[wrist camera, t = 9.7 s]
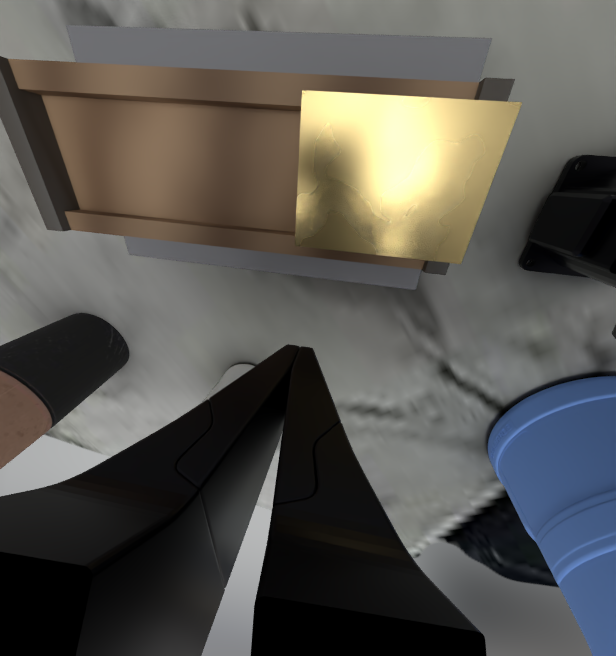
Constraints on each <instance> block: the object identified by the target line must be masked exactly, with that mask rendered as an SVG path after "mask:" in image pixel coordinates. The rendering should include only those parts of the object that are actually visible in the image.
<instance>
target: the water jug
mask: <svg viewBox="0 0 616 656" xmlns="http://www.w3.org/2000/svg"><path fill="white" fill-rule="evenodd" d="M488 455H489V459H490V462H491V464H492V466H493V468H494V470H495V472H496V474H497V476H498V478H499V480H500V481H501V483H502V484H503V485H504V487H505V489H506V491H507V493H508V495H509V497H510V499H511V501H512V503H513V505H514V507H515V509H516V511H517V513H518V515H519V517H520V519H521V521H522V523H523V525H524V527H525V529H526V531H527V532H528V534H529V535H530V536H531V538H532V539H533V540H534V541H535V542H536V543H537V544H538V546H539V548H540V550H541V552H542V554H543V556H544V558H545V560H546V562H547V564H548V566H549V568H550V570H551V572H552V574H553V576H554V578H555V580H556V582H557V584H558V585H559V587H560V589H561V591H562V593H563V595H564V597H565V599H566V601H567V603H568V605H569V607H570V609H571V611H572V613H573V615H574V617H575V619H576V621H577V623H578V625H579V627H580V628H581V631H582V633H583V634H584V636H585V639H586V641H587V643H588V645H589V648H590V650H591V653H592V655H593V656H616V376H603V377H593V378H585V379H580V380H575V381H570V382H566V383H562V384H559V385H556V386H553V387H550V388H547V389H545V390H542V391H540V392H537V393H535V394H533V395H531V396H529V397H527V398H526V399H524V400H522V401H521V402H519V403H518V404H516V405H515V406H513V407H512V408H511V409H510V410H508V411H507V412H506V413H505V414H504V415H503V416H502V417H501V418H500V419H499V421H498V422H497V423H496V425H495V426H494V428H493V430H492V432H491V434H490V437H489V441H488Z"/></svg>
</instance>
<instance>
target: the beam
mask: <svg viewBox="0 0 616 656" xmlns="http://www.w3.org/2000/svg"><path fill="white" fill-rule="evenodd" d="M514 81H515V79H499V78H485V79H483V80H482V81H481V82H461V81H441V80H421V79H401V78H380V77H360V76H340V75H320V74H300V73H280V72H260V71H240V70H220V69H200V68H180V67H160V66H140V65H120V64H100V63H80V62H60V61H40V60H19V59H7V58H4V57H1V56H0V117H1V120H2V122H3V124H4V127H5V129H6V132H7V134H8V136H9V139H10V141H11V144H12V146H13V149H14V151H15V153H16V156H17V158H18V161H19V163H20V165H21V168H22V170H23V173H24V175H25V177H26V180H27V182H28V185H29V187H30V189H31V192H32V194H33V197H34V199H35V202H36V204H37V206H38V209H39V211H40V214H41V216H42V218H43V221H44V223H45V226H46V228H47V230H55V231H68V230H76V231H85V232H94V233H103V234H112V235H120V236H129V237H138V238H147V239H156V240H165V241H173V242H182V243H191V244H200V245H209V246H218V247H226V248H235V249H244V250H253V251H262V252H271V253H279V254H288V255H297V256H306V257H315V258H323V259H332V260H341V261H350V262H359V263H368V264H376V265H385V266H394V267H403V268H412V269H421V270H423V271H424V272H425V273H432V274H441V275H446V272H447V269H448V266H449V263H446V262H437V261H428V260H419V259H410V258H401V257H392V256H382V255H373V254H364V253H355V252H346V251H337V250H328V249H319V248H310V247H301V246H295V229H296V208H297V187H298V166H299V144H300V123H301V102H302V90H307V91H325V92H343V93H361V94H379V95H397V96H415V97H433V98H451V99H468V100H486V101H504V102H507V100H508V98H509V95H510V92H511V89H512V86H513V84H514Z"/></svg>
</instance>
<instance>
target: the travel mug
mask: <svg viewBox="0 0 616 656" xmlns="http://www.w3.org/2000/svg"><path fill="white" fill-rule="evenodd" d="M128 357H129V352H128V348H127V345H126V343H125V341H124V339H123V338H122V336H121V335H120V334H119V333H118V332H117V330H115V329H114V328H113V327H112V326H111V325H110V324H108V323H107V322H106V321H104V320H102V319H100V318H98V317H96V316H93V315H90V314H82V313H80V314H74V315H71V316H69V317H66V318H64V319H61V320H59V321H57V322H54V323H52V324H50V325H47V326H45V327H43V328H41V329H38V330H36V331H34V332H31V333H29V334H27V335H24V336H22V337H20V338H18V339H15V340H13V341H11V342H8V343H6V344H4V345H1V346H0V469H1V468H2V467H4V466H5V465H6V464H7V463H9V462H10V461H11V460H12V459H14V458H15V457H16V456H17V455H19V454H20V453H21V452H22V451H24V450H25V449H26V448H27V447H29V446H30V445H31V444H32V443H34V442H35V441H36V440H37V439H38V438H40V437H41V436H42V435H44V434H45V433H46V432H47V431H48V430H49V429H50V428H52V427H53V426H54V425H56V424H57V423H58V422H59V421H60V420H61V419H63V418H64V417H65V416H66V415H67V414H68V413H70V412H71V411H72V410H73V409H74V408H75V407H77V406H78V405H79V404H80V403H81V402H82V401H84V400H85V399H86V398H87V397H88V396H89V395H91V394H92V393H93V392H94V391H95V390H96V389H98V388H99V387H100V386H101V385H102V384H103V383H105V382H106V381H107V380H108V379H109V378H110V377H112V376H113V375H114V374H115V373H116V372H117V371H118V370H120V369H121V368H122V367H123V366H124V365H125V364H126V362H127V360H128Z"/></svg>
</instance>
